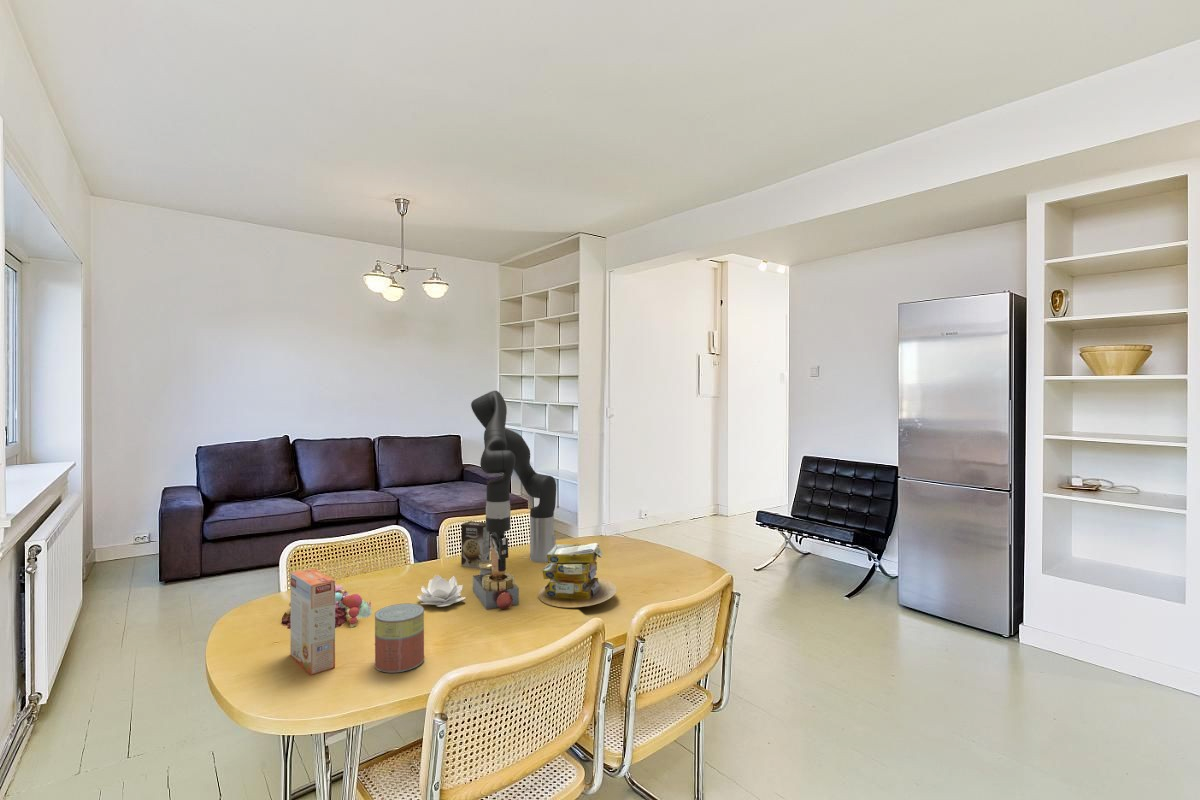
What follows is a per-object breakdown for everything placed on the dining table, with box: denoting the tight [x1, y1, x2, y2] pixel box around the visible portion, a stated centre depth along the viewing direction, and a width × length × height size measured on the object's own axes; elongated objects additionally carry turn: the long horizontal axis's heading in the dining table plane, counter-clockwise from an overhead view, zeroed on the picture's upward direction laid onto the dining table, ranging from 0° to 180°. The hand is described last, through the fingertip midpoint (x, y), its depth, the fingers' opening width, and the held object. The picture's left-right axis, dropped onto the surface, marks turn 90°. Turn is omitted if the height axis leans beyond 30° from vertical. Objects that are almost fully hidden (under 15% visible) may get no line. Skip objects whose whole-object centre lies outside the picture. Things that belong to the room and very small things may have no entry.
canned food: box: [374, 602, 425, 674], centre depth 140 cm, size 11×11×12 cm
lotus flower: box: [416, 574, 467, 608], centre depth 179 cm, size 14×15×9 cm
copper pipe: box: [490, 546, 506, 580], centre depth 181 cm, size 4×4×12 cm
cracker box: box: [290, 568, 336, 676], centre depth 140 cm, size 14×6×21 cm, turn 45°
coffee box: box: [460, 520, 491, 570], centre depth 218 cm, size 9×6×16 cm
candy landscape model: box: [281, 583, 373, 630], centre depth 168 cm, size 25×24×9 cm
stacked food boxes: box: [537, 542, 617, 608], centre depth 187 cm, size 25×25×17 cm
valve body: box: [472, 559, 520, 610], centre depth 183 cm, size 21×10×9 cm, turn 25°
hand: (498, 567), depth 181 cm, fingers open, 8 cm apart
